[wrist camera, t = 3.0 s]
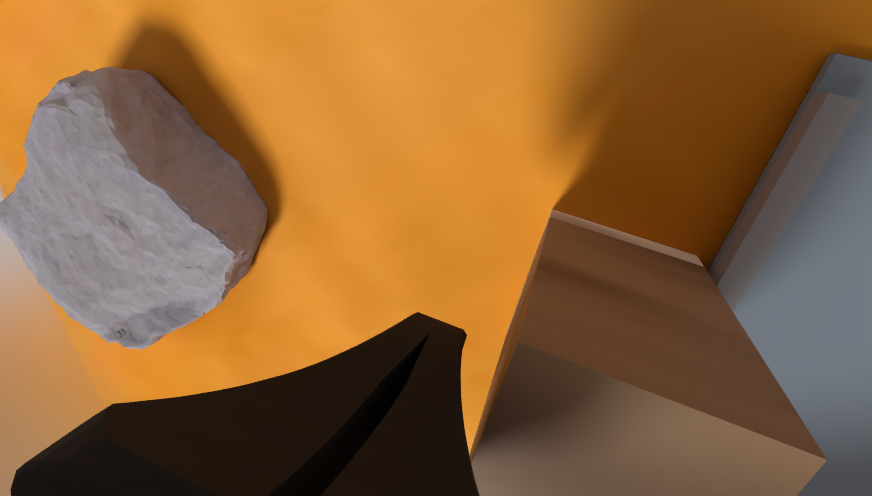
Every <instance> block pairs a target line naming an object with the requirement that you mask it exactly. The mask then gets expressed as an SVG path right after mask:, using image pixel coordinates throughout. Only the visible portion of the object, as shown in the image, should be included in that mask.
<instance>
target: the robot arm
mask: <svg viewBox="0 0 872 496" xmlns="http://www.w3.org/2000/svg"><path fill="white" fill-rule="evenodd" d="M466 336H467V335H466V333H465V331H464V330H463V329H460V328H458V327H455V326H453V325H450V324H447V323H445V322H442V321H440V320H437V319H434V318H432V317H429V316H427V315H424V314H421V313H419V312H417V313H415V314H412V315H411V316H409V317H407V318H406V319H404V320H403V321H401V322H399V323H398V324H396V325H394V326H392V327H391V328H389V329H387V330H385V331H384V332H382V333H380V334H378V335H376V336H374V337H373V338H371V339H369V340H367V341H365V342H363V343H361V344H359V345H357V346H355V347H353V348H351V349H349V350H346V351H344V352H342V353H340V354H338V355H335V356H333V357H331V358H329V359H326V360H324V361H321V362H319V363H316V364H314V365H311V366H308V367H306V368H303V369H300V370H297V371H294V372H291V373H288V374H284V375H281V376H277V377H273V378H269V379H266V380H262V381H258V382H254V383H250V384H247V385H242V386H238V387H233V388H228V389H223V390H218V391H213V392H207V393H201V394H195V395H189V396H182V397H175V398H165V399H156V400H147V401H138V402H129V403H117V404H112V405H110V406H109V407H107V408H105V409H104V410H102V411H101V412H99V413H98V414H96V415H95V416H93V417H92V418H90V419H88V420H87V421H85V422H84V423H83V424H81V425H80V426H78V427H77V428H75V429H74V430H72V431H71V432H69V433H68V434H66V435H65V436H64V437H62V438H61V439H59V440H58V441H56V442H55V443H53V444H52V445H51V446H49V447H48V448H46V449H45V450H43V451H42V452H40V453H39V454H37V455H36V456H35V457H33V458H32V459H30V460H29V461H27V462H26V463H25V464H24V465H22V466H21V467H20V468H19V469H18V470H16V473H15V477H14V480H13V483H12V487H11V496H480V495H479V491H478V488H477V485H476V481H475V478H474V474H473V469H472V465H471V461H470V456H469V451H468V446H467V441H466V435H465V428H464V421H463V412H462V402H461V357H462V349H463V346H464V343H465V340H466Z"/></svg>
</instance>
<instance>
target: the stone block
mask: <svg viewBox="0 0 872 496" xmlns="http://www.w3.org/2000/svg"><path fill="white" fill-rule="evenodd" d="M24 148H25V153H26V155H27V167H26V171H25V173H24V176H23V177H22V178H21V179H20V180H19V181H18V182H17V184H16V188H15V191H14V192H13V193H11V194H10V195H9V196H8V197H7V198H6V199H4V200H3V201H2V202H1V203H0V228H1V230H2V231H4V232H5V233H6V234H7V235H8V236H9V237H10V239H11V240H12V241H13V242H14V244H15V246H16V247H17V249H18V251H19V253H20V254H21V255H22V258H23V260H24V262H25V263H26V264H27V266H28V268H29V269H30V270H31V271H32V272H33V273H34V275H35V277H36V278H37V281H38V283H39V284H40V285H41V287H42V288H43V289H45V290H46V291H47V292H48V293H49V294H50V295H51V297H52V298H53V300H54V301H55V302H56V304H58V305H60V306H61V307H62V308H63V309H64V310H65V312H66V313H67V314H68V315H69V317H71V318H72V319H74V320H76V321H78V322H79V323H81V324H82V325H84V326H85V327H87V328H88V329H90V330H92V331H93V332H95V333H97V334H99V335H100V336H101V337H102V338H103V339H104V340H106V341H107V342H108V343H113V342H118V343H120V344H121V345H122V346H124V347H126V348H129V349H132V348H137V349H144V348H146V347H148V346H150V345H152V344H154V343H155V342H157V341H158V340H160V339H161V338H162V337H163V336H165V335H166V334H167V333H169V332H172V331H174V330H176V329H178V328H182V327H185V325H187V324H189V323H191V322H193V321H195V320H196V319H198V318H199V317H201V316H203V315H204V314H205V313H206V312H208V311H210V310H212V309H213V308H215V307H216V306H218V305H219V304H220V303H221V302H222V301H223V300H224V299H225V297H226V295H227V294H228V292H229V290H231V289H232V288H233V287H235V286H236V284H237V283H238V282H239V281H240V279H242V278H243V277H244V276H245V275H246V274H247V272H248V271H249V268H250V267H251V264H252V260H253V257H254V254H255V252H256V250H257V248H258V246H259V243H260V241H261V237H262V235H263V233H264V231H265V227H266V223H267V218H268V210H267V207H266V205H265V203H264V201H263V200H262V198H261V197H260V196H259V194H258V193H257V191H256V190H255V188H254V186H253V185H252V183H251V181H250V180H249V177H248V175H247V173H246V172H245V171H244V170H243V168H242V166H241V165H240V163H239V162H238V161H237V160H235V159H234V158H233V157H232V156H231V155H230V154H228V153H227V152H226V151H225V150H224V149H223V148H222V147H221V146H219V144H218V142H217V141H216V140H214V139H213V138H211V137H209V136H208V135H206V134H205V133H204V132H203V131H202V130H201V128H200V127H199V126H198V125H197V124H196V123H195V121H194V120H193V118H192V116H191V115H190V114H189V113H188V112H187V110H186V108H185V107H184V106H183V105H182V104H181V103H179V102H178V101H177V100H176V99H175V98H174V97H173V96H172V95H171V94H170V93H168V92H167V91H166V90H165V89H164V88H163V87H162V85H161V84H160V83H159V82H158V80H157V79H156V78H155V77H154V76H152V75H151V74H149V73H146V72H144V71H141V70H137V69H131V70H127V69H122V68H117V67H106V68H102V69H98V70H95V71H93V72H90V71H87V70H85V71H82V72H81V73H79V74H77V75H75V76H71V77H67V78H64V79H62V80H59V81H58V83H57V84H56V85H55V86H54V87H53V88H52V89H51V91H50V93H49V94H48V95H47V96H46V97H45V98H44V99H43V100H42V101H41V102H39V103H38V106H37V108H36V111H35V114H34V115H33V117H32V121H31V126H30V129H29V130H28V132H27V138H26V141H25V144H24Z"/></svg>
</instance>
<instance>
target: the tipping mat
mask: <svg viewBox="0 0 872 496" xmlns="http://www.w3.org/2000/svg"><path fill="white" fill-rule="evenodd" d="M707 272H708V273H709V275H710V276H711V278H712V280H713V281H714V283H715V284H716V286H717V287H718V289H719V291H720V292H721V294H722V295H723V297H724V298H725V300H726V302H727V303H728V305H729V306H730V308H731V309H732V311H733V313H734V314H735V316H736V317H737V319H738V320H739V322H740V324H741V325H742V327H743V328H744V330H745V331H746V333H747V335H748V336H749V338H750V339H751V341H752V342H753V344H754V346H755V347H756V349H757V350H758V352H759V353H760V355H761V357H762V358H763V360H764V361H765V363H766V364H767V366H768V368H769V369H770V371H771V372H772V374H773V375H774V377H775V379H776V380H777V382H778V383H779V385H780V386H781V388H782V390H783V391H784V393H785V394H786V396H787V397H788V399H789V401H790V402H791V404H792V405H793V407H794V408H795V410H796V411H797V413H798V415H799V416H800V418H801V419H802V421H803V422H804V424H805V426H806V427H807V429H808V430H809V432H810V433H811V435H812V437H813V438H814V440H815V441H816V443H817V444H818V446H819V448H820V449H821V451H822V452H823V454H824V455H825V457H826V459H827V461H826V462H825V463H824V464H823V466H822V467H821V468H820V469H819V470H818V471H817V472H816V474H815V475H814V476H813V477H812V478H811V479H810V481H809V482H808V483H807V484H806V485H805V486H804V488H803V489H802V490H801V491H800V492H799V493H798V495H797V496H872V61H869V60H865V59H860V58H856V57H852V56H847V55H843V54H838V53H833V54H829V55H828V57H827V59H826V60H825V62H824V64H823V66H822V68H821V69H820V71H819V73H818V75H817V77H816V78H815V80H814V82H813V84H812V85H811V87H810V89H809V91H808V93H807V94H806V96H805V98H804V100H803V102H802V103H801V105H800V107H799V109H798V110H797V112H796V114H795V116H794V118H793V119H792V121H791V123H790V125H789V127H788V128H787V130H786V132H785V134H784V136H783V137H782V139H781V141H780V143H779V144H778V146H777V148H776V150H775V152H774V153H773V155H772V157H771V159H770V161H769V162H768V164H767V166H766V168H765V169H764V171H763V173H762V175H761V177H760V178H759V180H758V182H757V184H756V186H755V187H754V189H753V191H752V193H751V194H750V196H749V198H748V200H747V202H746V203H745V205H744V207H743V209H742V211H741V212H740V214H739V216H738V218H737V220H736V221H735V223H734V225H733V227H732V228H731V230H730V232H729V234H728V236H727V237H726V239H725V241H724V243H723V245H722V246H721V248H720V250H719V252H718V253H717V255H716V257H715V259H714V261H713V262H712V264H711V266H710V268H709V270H708V271H707Z"/></svg>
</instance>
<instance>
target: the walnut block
mask: <svg viewBox="0 0 872 496" xmlns="http://www.w3.org/2000/svg"><path fill="white" fill-rule="evenodd" d="M469 456H470V461H471V465H472V469H473V474H474V478H475V481H476V485H477V488H478V491H479V495H480V496H797V495H798V493H799V492H800V491H801V490H802V489H803V488H804V486H805V485H806V484H807V483H808V482H809V481H810V479H811V478H812V477H813V476H814V475H815V474H816V472H817V471H818V470H819V469H820V468H821V467H822V466H823V464H824V463H825V462H826V461H827V459H826V457H825V455H824V454H823V452H822V451H821V449H820V448H819V446H818V444H817V443H816V441H815V440H814V438H813V437H812V435H811V433H810V432H809V430H808V429H807V427H806V426H805V424H804V422H803V421H802V419H801V418H800V416H799V415H798V413H797V411H796V410H795V408H794V407H793V405H792V404H791V402H790V401H789V399H788V397H787V396H786V394H785V393H784V391H783V390H782V388H781V386H780V385H779V383H778V382H777V380H776V379H775V377H774V375H773V374H772V372H771V371H770V369H769V368H768V366H767V364H766V363H765V361H764V360H763V358H762V357H761V355H760V353H759V352H758V350H757V349H756V347H755V346H754V344H753V342H752V341H751V339H750V338H749V336H748V335H747V333H746V331H745V330H744V328H743V327H742V325H741V324H740V322H739V320H738V319H737V317H736V316H735V314H734V313H733V311H732V309H731V308H730V306H729V305H728V303H727V302H726V300H725V298H724V297H723V295H722V294H721V292H720V291H719V289H718V287H717V286H716V284H715V283H714V281H713V280H712V278H711V276H710V275H709V273H708V272H707V270H706V269H705V267H704V265H703V264H702V262H701V261H700V259H699V258H698V256H697V255H694V254H690V253H687V252H684V251H681V250H678V249H675V248H672V247H669V246H666V245H662V244H659V243H656V242H653V241H650V240H647V239H644V238H641V237H638V236H634V235H631V234H628V233H625V232H622V231H619V230H616V229H613V228H610V227H606V226H603V225H600V224H597V223H594V222H591V221H588V220H585V219H581V218H578V217H575V216H572V215H569V214H566V213H563V212H560V211H557V210H553V209H552V211H551V213H550V216H549V219H548V222H547V224H546V227H545V230H544V232H543V235H542V238H541V241H540V243H539V246H538V249H537V251H536V254H535V257H534V260H533V262H532V265H531V268H530V270H529V273H528V276H527V279H526V281H525V284H524V287H523V289H522V292H521V295H520V298H519V300H518V303H517V306H516V308H515V311H514V314H513V317H512V319H511V322H510V325H509V328H508V332H507V335H506V338H505V341H504V345H503V348H502V351H501V354H500V358H499V361H498V364H497V367H496V371H495V374H494V377H493V380H492V384H491V387H490V390H489V393H488V397H487V400H486V403H485V406H484V410H483V413H482V416H481V419H480V423H479V426H478V429H477V432H476V436H475V439H474V442H473V445H472V449H471V452H470V455H469Z"/></svg>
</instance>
